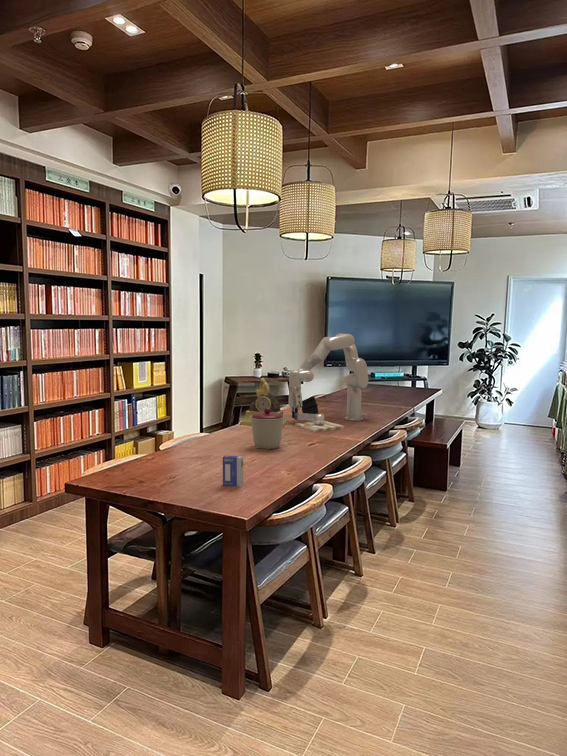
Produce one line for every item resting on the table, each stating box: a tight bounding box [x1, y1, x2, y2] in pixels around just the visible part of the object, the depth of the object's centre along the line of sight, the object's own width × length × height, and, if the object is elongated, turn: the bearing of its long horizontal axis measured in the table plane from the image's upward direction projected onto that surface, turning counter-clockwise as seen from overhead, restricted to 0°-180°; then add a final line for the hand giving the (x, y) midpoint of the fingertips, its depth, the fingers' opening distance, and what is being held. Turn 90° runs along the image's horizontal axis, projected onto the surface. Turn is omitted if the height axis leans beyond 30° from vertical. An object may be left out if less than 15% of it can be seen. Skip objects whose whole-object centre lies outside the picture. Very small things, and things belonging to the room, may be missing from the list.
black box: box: [300, 395, 320, 414], centre depth 361 cm, size 4×13×15 cm, turn 74°
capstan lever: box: [293, 412, 325, 425], centre depth 329 cm, size 19×6×6 cm, turn 72°
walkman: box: [222, 455, 244, 488], centre depth 208 cm, size 8×3×12 cm, turn 81°
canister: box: [250, 408, 285, 450], centre depth 273 cm, size 18×18×21 cm
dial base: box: [294, 420, 345, 433], centre depth 328 cm, size 22×22×3 cm
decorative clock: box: [239, 377, 289, 428], centre depth 334 cm, size 28×13×30 cm, turn 73°
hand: (294, 417), depth 337 cm, fingers closed
